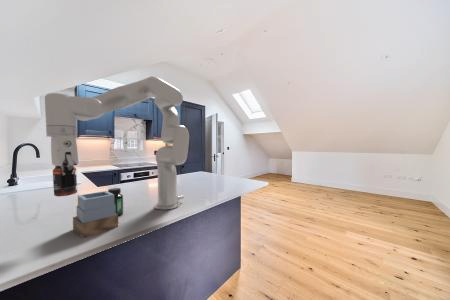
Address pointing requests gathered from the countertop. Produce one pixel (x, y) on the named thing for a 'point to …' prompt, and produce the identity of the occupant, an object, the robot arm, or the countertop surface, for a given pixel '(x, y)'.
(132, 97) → the robot arm
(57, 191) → the supplement bottle
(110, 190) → the supplement bottle
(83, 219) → the tower top block
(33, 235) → the countertop surface
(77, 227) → the tower base block
